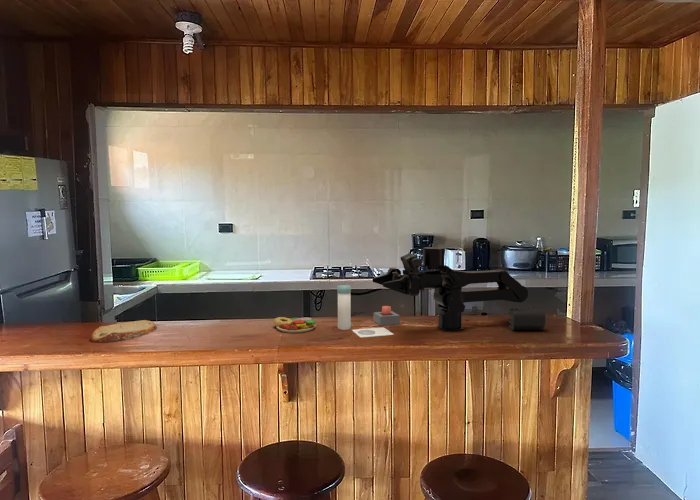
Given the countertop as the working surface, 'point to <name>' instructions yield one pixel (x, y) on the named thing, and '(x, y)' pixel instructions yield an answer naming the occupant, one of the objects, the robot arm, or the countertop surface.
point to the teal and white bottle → (344, 307)
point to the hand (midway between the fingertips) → (377, 282)
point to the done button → (386, 310)
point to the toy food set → (294, 324)
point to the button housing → (386, 318)
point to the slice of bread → (122, 331)
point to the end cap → (527, 319)
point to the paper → (372, 332)
